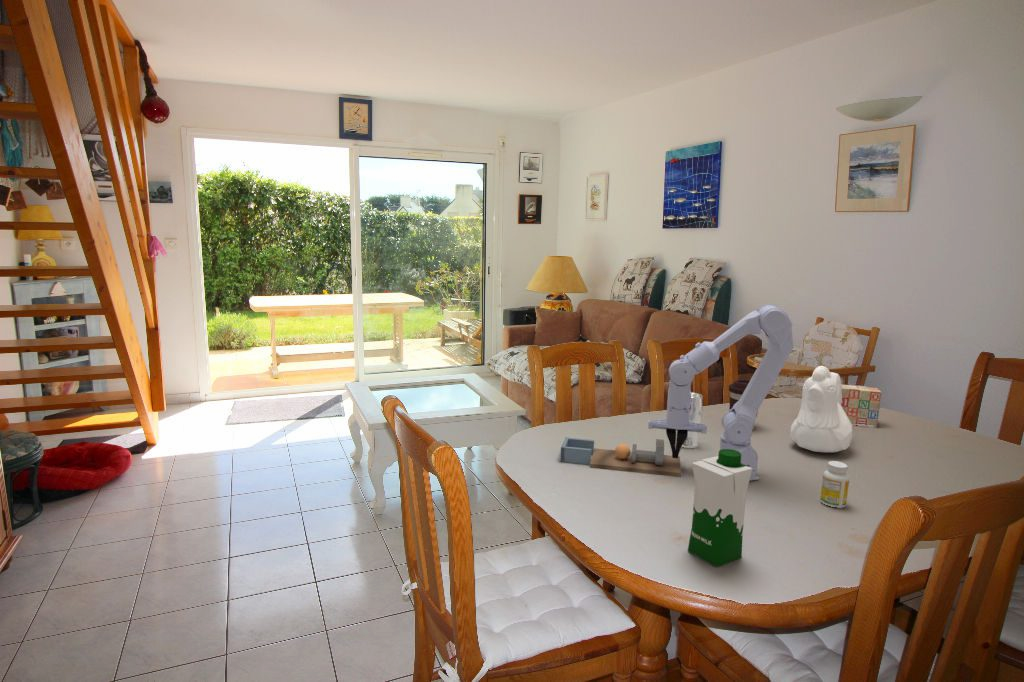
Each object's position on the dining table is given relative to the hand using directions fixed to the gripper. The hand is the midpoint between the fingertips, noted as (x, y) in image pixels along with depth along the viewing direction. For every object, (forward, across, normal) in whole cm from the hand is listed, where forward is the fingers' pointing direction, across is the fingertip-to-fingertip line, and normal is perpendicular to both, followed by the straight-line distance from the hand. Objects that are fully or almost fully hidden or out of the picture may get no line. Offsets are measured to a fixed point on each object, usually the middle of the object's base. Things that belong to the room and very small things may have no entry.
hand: (674, 456), depth 161 cm
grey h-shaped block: (+2, +7, 0) cm, 7 cm away
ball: (0, +14, 0) cm, 14 cm away
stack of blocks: (+3, -55, -58) cm, 80 cm away
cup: (+3, +25, 0) cm, 25 cm away
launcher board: (+3, +10, 0) cm, 10 cm away
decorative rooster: (+3, -43, -29) cm, 52 cm away
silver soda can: (+3, -4, -19) cm, 20 cm away
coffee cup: (+3, -22, -41) cm, 47 cm away
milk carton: (+3, -6, +44) cm, 45 cm away
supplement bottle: (+3, -35, +13) cm, 37 cm away
